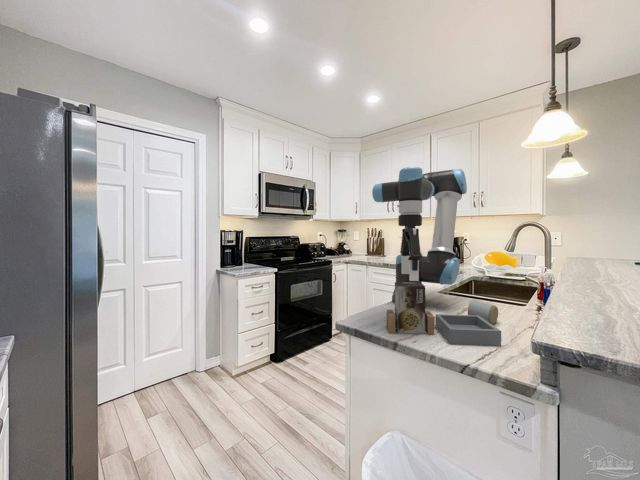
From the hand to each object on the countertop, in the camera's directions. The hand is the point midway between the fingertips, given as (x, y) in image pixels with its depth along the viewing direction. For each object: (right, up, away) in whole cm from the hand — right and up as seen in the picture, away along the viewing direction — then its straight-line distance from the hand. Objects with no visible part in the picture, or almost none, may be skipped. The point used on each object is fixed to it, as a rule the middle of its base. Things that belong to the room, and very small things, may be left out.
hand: (409, 277), depth 92 cm
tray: (+17, -18, -4) cm, 25 cm away
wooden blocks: (0, -18, +1) cm, 18 cm away
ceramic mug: (+31, -18, +10) cm, 38 cm away
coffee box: (0, -19, +1) cm, 19 cm away
